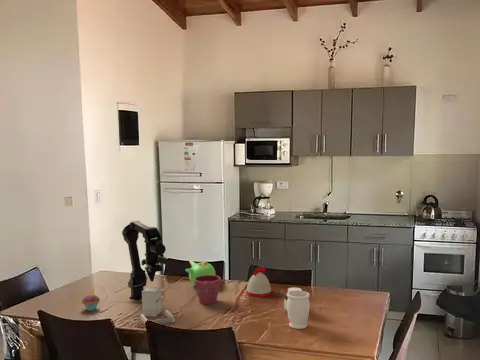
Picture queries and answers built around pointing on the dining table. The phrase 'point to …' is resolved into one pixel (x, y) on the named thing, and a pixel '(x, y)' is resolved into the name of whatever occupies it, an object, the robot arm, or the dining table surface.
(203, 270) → the toy bird
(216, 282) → the plant pot
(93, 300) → the cupcake
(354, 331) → the dining table surface
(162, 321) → the bay
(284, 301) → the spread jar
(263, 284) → the chicken egg cooker
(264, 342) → the dining table surface
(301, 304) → the jar
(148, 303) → the supplement box
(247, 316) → the dining table surface
